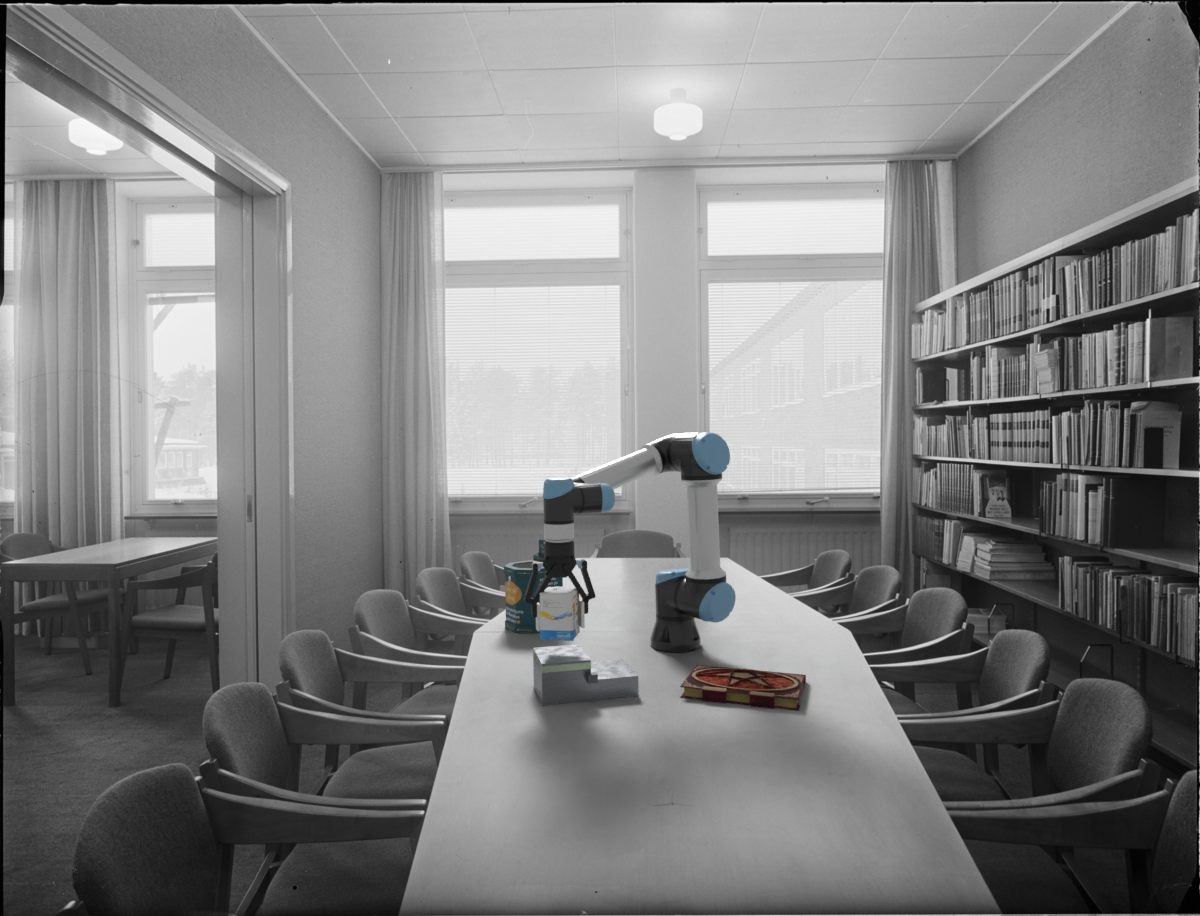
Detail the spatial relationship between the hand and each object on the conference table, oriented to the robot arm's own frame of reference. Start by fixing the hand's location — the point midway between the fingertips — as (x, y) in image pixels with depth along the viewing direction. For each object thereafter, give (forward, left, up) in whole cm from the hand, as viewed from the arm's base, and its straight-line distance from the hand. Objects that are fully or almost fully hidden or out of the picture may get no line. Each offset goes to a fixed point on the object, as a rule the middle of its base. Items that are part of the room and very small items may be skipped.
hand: (560, 628), depth 186 cm
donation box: (-2, -65, -17) cm, 67 cm away
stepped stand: (-6, +1, -16) cm, 18 cm away
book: (-45, +10, -17) cm, 49 cm away
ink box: (0, 0, -2) cm, 2 cm away
